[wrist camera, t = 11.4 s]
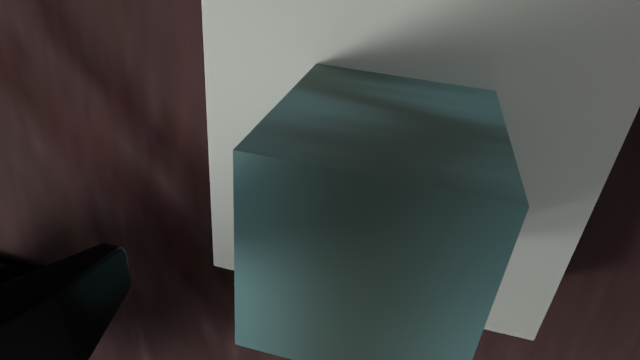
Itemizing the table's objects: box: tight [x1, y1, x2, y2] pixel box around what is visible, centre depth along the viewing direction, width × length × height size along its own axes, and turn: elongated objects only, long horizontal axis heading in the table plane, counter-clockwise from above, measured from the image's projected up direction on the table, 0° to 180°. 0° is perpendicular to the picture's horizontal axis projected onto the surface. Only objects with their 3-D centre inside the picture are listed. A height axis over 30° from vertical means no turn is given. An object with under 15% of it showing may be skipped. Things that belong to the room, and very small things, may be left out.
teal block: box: [233, 64, 529, 360], centre depth 11 cm, size 5×5×6 cm
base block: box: [202, 0, 640, 341], centre depth 15 cm, size 12×12×3 cm
